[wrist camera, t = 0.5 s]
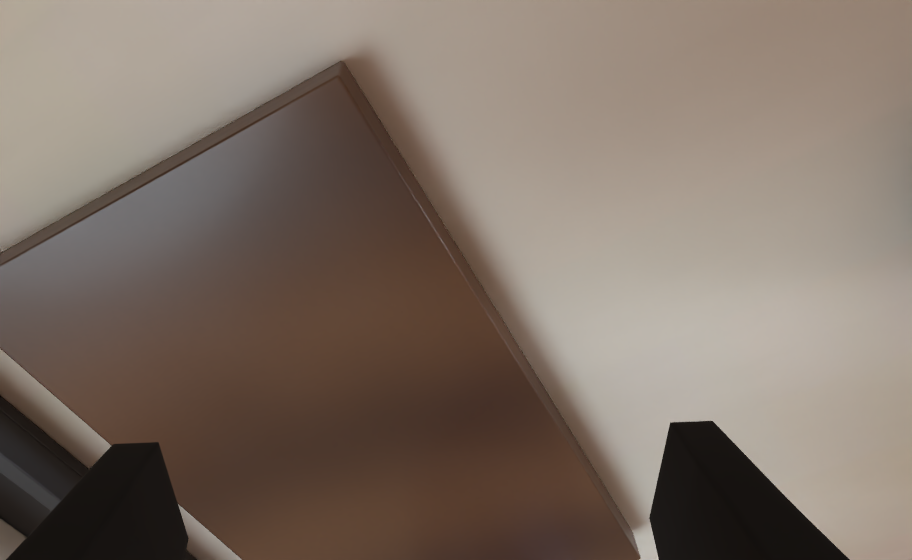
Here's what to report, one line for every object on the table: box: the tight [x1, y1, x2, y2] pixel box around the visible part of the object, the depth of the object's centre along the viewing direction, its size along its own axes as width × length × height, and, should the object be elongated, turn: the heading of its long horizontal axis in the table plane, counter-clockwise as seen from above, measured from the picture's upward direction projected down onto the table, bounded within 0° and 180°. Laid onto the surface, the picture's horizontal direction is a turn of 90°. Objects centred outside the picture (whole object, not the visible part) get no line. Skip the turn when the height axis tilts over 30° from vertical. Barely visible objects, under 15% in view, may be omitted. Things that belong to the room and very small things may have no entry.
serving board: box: [0, 61, 640, 560], centre depth 23 cm, size 20×12×1 cm, turn 28°
